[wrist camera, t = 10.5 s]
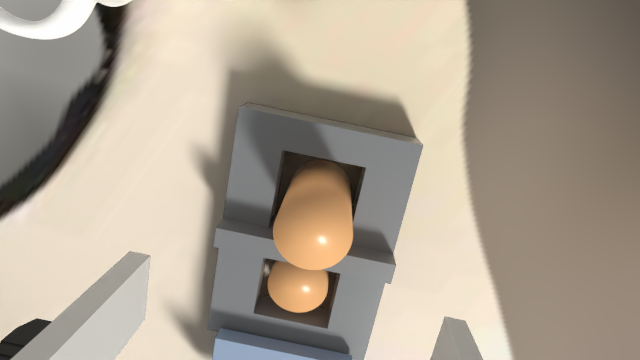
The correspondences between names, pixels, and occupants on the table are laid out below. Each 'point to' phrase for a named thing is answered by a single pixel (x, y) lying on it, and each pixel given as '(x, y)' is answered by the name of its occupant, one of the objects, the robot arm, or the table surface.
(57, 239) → the table surface
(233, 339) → the lid
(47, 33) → the mug
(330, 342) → the housing
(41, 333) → the robot arm
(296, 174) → the pin
